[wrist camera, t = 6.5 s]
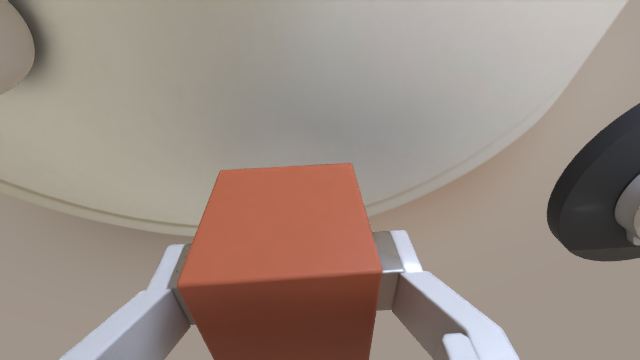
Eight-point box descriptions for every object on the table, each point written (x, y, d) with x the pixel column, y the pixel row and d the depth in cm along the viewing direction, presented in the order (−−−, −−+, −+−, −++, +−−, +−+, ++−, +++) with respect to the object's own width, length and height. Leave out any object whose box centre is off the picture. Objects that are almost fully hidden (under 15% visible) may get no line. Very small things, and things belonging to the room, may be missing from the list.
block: (352, 161, 10) (384, 270, 6) (348, 250, 12) (369, 364, 9) (219, 169, 10) (173, 286, 6) (243, 257, 12) (220, 376, 9)
